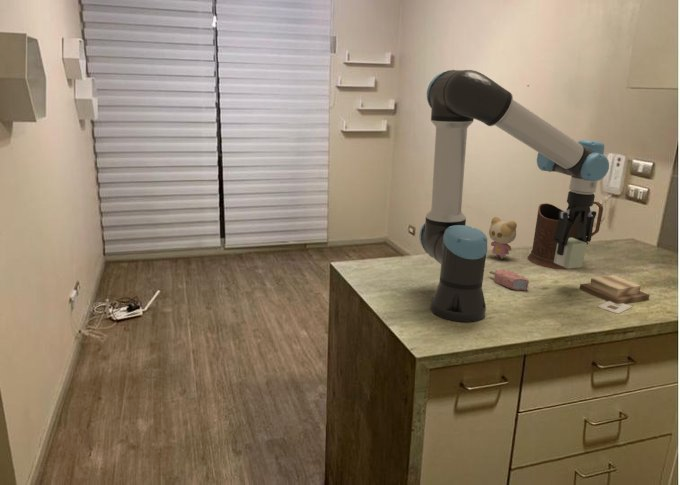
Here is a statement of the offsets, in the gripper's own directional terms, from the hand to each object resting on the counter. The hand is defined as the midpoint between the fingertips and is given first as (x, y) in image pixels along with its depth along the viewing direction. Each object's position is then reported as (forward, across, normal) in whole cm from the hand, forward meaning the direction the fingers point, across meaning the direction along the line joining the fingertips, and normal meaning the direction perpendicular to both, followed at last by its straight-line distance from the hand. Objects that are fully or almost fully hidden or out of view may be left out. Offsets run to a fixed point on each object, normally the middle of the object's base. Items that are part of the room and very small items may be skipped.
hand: (567, 263), depth 171 cm
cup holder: (+8, +19, +20) cm, 28 cm away
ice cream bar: (+9, -16, +9) cm, 20 cm away
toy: (+9, +1, +32) cm, 33 cm away
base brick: (+8, +12, -9) cm, 17 cm away
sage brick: (0, 0, 0) cm, 0 cm away
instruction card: (+8, +3, -17) cm, 19 cm away
